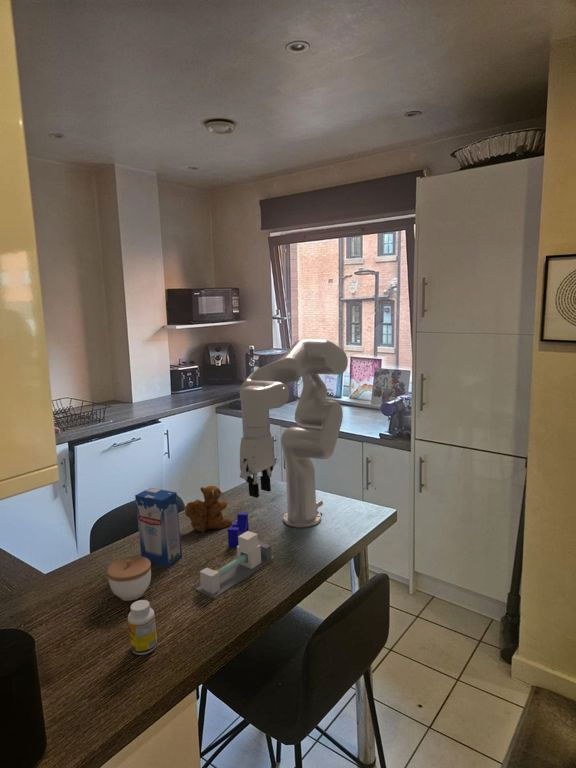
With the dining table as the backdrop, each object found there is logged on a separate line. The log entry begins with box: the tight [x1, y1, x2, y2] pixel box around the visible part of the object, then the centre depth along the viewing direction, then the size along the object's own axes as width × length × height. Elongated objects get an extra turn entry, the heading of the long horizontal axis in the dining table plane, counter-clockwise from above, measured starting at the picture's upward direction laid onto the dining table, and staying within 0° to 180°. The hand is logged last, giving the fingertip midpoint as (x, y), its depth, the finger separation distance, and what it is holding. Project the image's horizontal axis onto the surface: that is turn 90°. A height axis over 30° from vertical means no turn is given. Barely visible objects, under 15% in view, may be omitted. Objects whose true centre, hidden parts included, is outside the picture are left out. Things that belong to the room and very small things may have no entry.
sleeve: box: [236, 530, 261, 569], centre depth 144 cm, size 4×5×8 cm
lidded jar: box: [106, 555, 152, 602], centre depth 133 cm, size 11×11×9 cm
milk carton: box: [134, 487, 183, 568], centre depth 149 cm, size 10×6×20 cm, turn 62°
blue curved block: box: [227, 512, 250, 549], centre depth 161 cm, size 12×4×6 cm, turn 170°
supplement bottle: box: [127, 599, 158, 656], centre depth 112 cm, size 6×6×10 cm
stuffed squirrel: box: [183, 485, 233, 533], centre depth 169 cm, size 10×14×13 cm
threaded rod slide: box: [194, 540, 276, 600], centre depth 140 cm, size 24×7×5 cm, turn 142°
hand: (260, 492), depth 146 cm, fingers open, 4 cm apart
